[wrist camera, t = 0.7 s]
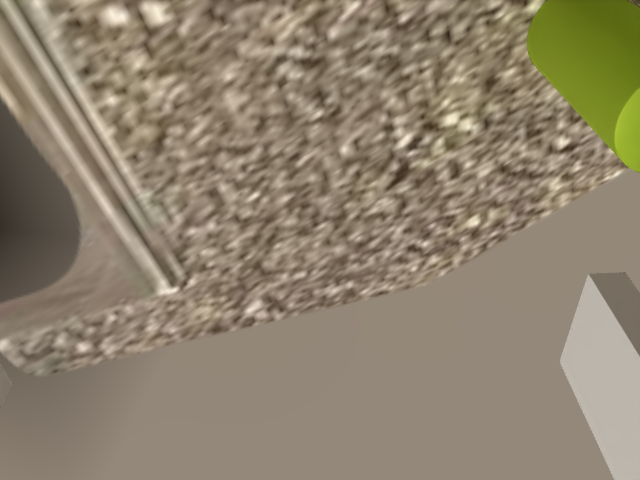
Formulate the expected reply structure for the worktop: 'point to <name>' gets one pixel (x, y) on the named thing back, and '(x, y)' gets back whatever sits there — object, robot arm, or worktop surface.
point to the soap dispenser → (594, 65)
